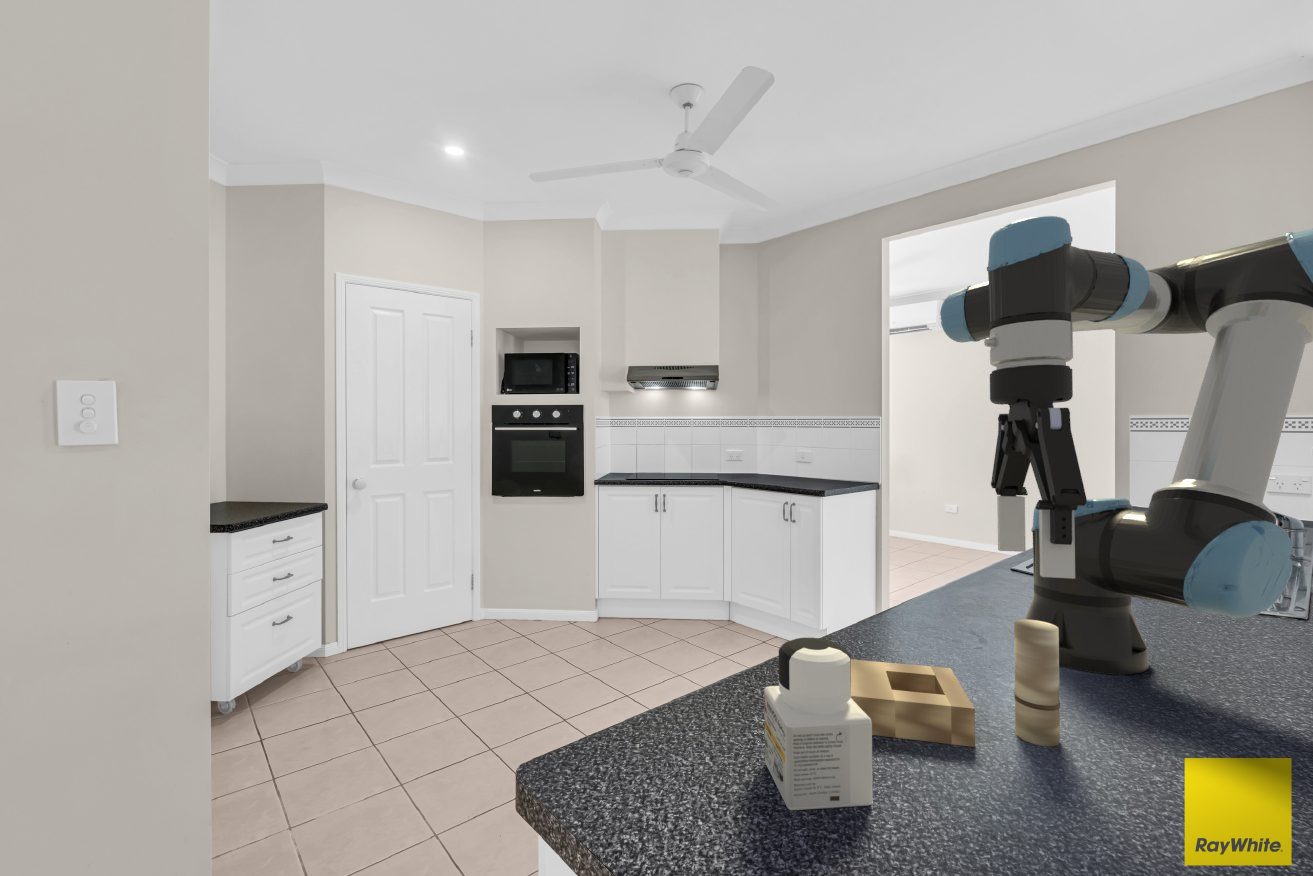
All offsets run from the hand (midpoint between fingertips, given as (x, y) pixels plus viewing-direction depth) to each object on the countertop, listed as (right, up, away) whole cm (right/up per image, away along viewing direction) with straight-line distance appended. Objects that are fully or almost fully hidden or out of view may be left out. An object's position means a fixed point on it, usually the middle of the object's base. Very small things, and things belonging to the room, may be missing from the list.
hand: (1032, 562), depth 62 cm
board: (-16, -19, +6) cm, 25 cm away
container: (-26, -19, -8) cm, 33 cm away
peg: (0, -19, 0) cm, 19 cm away
